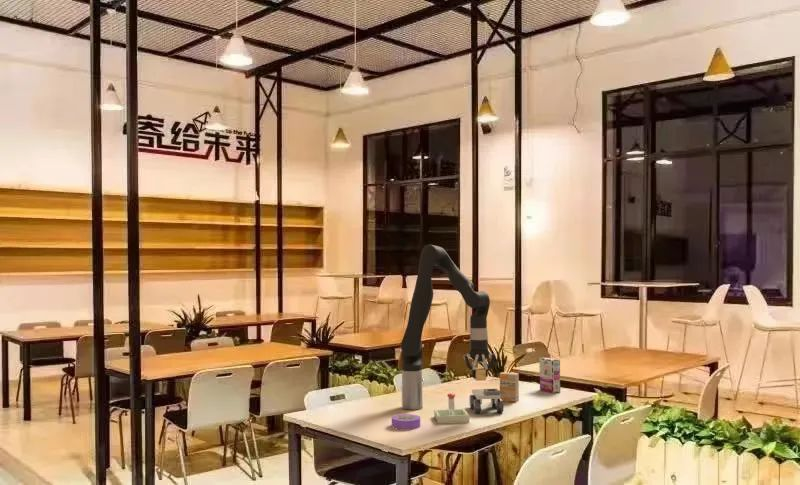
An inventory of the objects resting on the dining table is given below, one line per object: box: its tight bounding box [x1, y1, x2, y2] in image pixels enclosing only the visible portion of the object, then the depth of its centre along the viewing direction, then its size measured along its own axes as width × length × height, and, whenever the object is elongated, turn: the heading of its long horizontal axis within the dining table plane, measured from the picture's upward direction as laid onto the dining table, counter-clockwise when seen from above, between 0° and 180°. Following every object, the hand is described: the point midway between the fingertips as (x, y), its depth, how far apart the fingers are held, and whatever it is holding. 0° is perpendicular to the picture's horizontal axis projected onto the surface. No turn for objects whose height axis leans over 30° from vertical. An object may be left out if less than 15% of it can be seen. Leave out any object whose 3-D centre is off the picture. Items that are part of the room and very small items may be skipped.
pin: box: [447, 393, 456, 415], centre depth 285 cm, size 3×3×10 cm
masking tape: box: [391, 413, 421, 430], centre depth 275 cm, size 12×12×4 cm
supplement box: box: [499, 371, 520, 403], centre depth 321 cm, size 8×5×13 cm, turn 62°
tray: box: [433, 408, 470, 425], centre depth 285 cm, size 13×12×3 cm
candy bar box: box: [538, 357, 561, 394], centre depth 343 cm, size 11×5×16 cm, turn 25°
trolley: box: [468, 388, 504, 415], centre depth 301 cm, size 12×16×10 cm
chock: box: [474, 367, 487, 382], centre depth 290 cm, size 6×4×4 cm, turn 5°
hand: (479, 378), depth 290 cm, fingers closed on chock, 4 cm apart
